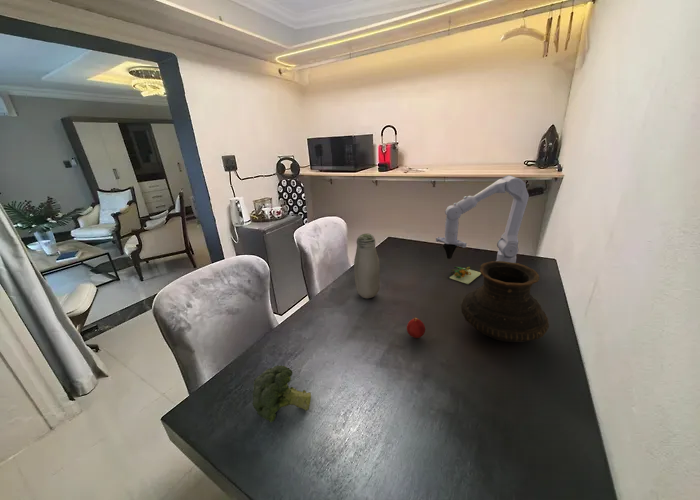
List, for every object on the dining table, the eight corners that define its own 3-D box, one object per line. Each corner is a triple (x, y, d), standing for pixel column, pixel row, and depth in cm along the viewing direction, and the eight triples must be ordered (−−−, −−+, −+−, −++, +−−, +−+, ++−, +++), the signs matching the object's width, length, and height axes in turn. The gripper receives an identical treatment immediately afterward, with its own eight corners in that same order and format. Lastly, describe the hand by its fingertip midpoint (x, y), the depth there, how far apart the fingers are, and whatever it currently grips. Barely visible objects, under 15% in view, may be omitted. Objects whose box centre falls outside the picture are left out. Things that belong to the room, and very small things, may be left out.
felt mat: (463, 268, 131) (463, 267, 131) (482, 273, 125) (482, 272, 124) (449, 278, 123) (449, 277, 122) (468, 284, 116) (468, 283, 116)
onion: (413, 329, 91) (413, 310, 88) (428, 336, 87) (429, 316, 84) (403, 338, 88) (403, 318, 85) (418, 346, 84) (419, 325, 81)
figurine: (447, 271, 123) (463, 277, 117) (461, 261, 129) (477, 265, 123) (447, 277, 124) (463, 282, 118) (460, 266, 131) (477, 271, 125)
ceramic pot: (447, 335, 87) (451, 275, 79) (474, 302, 103) (481, 249, 95) (533, 373, 71) (551, 302, 63) (550, 327, 87) (566, 266, 79)
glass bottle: (368, 305, 107) (365, 240, 97) (352, 296, 114) (347, 235, 104) (384, 295, 113) (383, 233, 102) (368, 287, 120) (365, 229, 110)
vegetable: (302, 436, 58) (237, 415, 57) (298, 425, 69) (244, 407, 68) (321, 378, 63) (262, 357, 62) (315, 377, 75) (265, 359, 74)
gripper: (432, 230, 125) (431, 256, 130) (462, 236, 115) (459, 264, 120) (440, 227, 130) (439, 252, 135) (469, 232, 119) (467, 259, 124)
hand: (449, 258), depth 128 cm, fingers closed
